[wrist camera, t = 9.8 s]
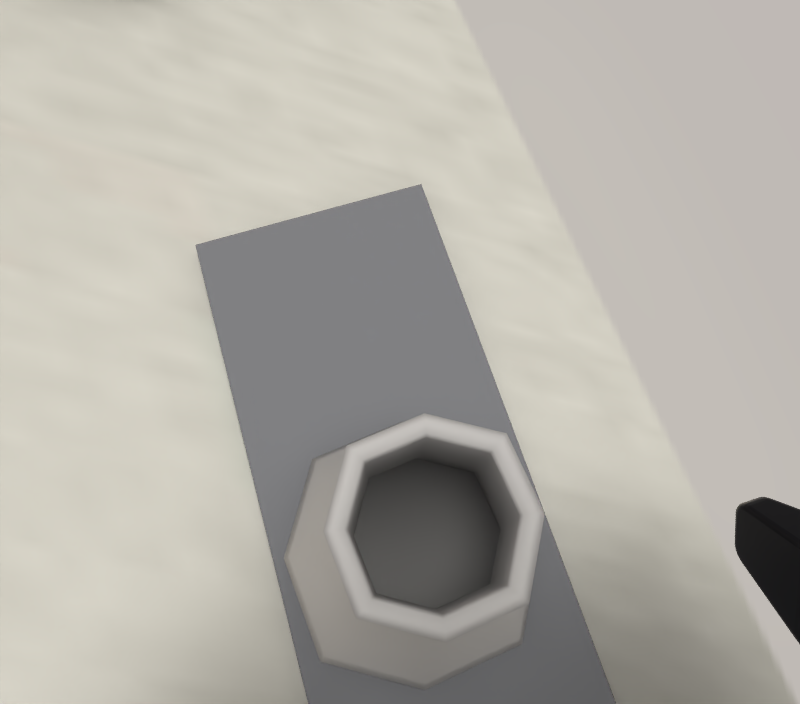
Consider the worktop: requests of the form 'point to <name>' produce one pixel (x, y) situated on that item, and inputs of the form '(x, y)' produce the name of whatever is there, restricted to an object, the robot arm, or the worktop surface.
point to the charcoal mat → (374, 411)
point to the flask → (416, 551)
